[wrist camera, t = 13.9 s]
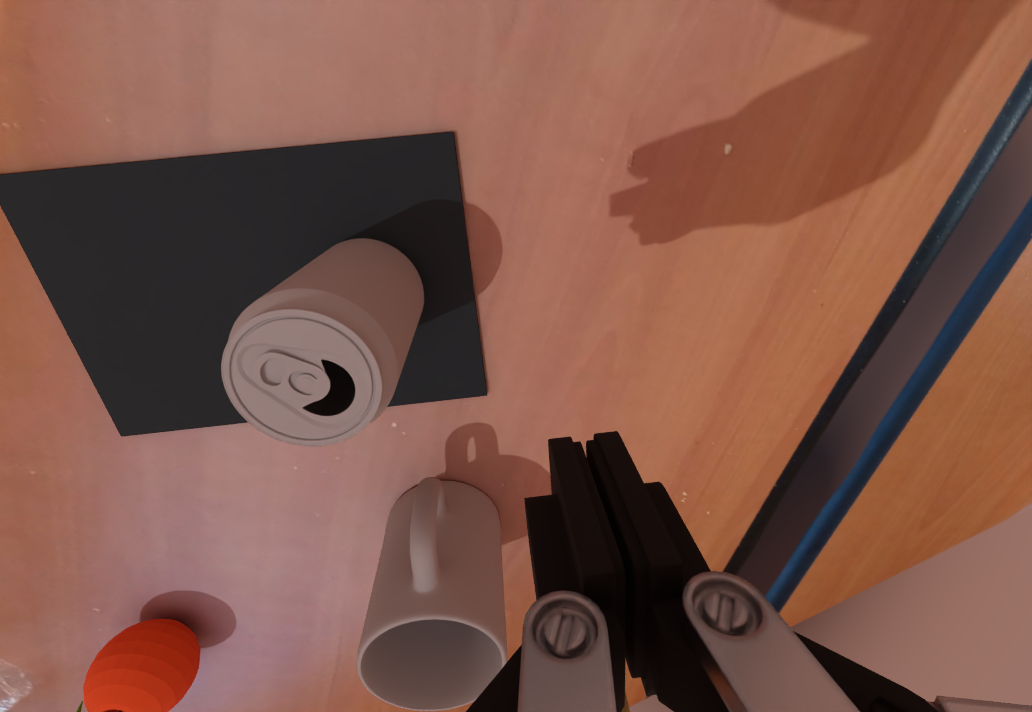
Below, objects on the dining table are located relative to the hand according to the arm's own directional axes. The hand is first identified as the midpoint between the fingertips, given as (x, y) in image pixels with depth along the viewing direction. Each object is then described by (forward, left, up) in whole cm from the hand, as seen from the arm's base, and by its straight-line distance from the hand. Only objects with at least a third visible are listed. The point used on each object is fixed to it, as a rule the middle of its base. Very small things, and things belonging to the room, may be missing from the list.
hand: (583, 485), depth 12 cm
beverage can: (+6, -7, -19) cm, 21 cm away
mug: (+17, +6, -19) cm, 27 cm away
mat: (+9, -11, -19) cm, 24 cm away
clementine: (+40, -6, -19) cm, 45 cm away
